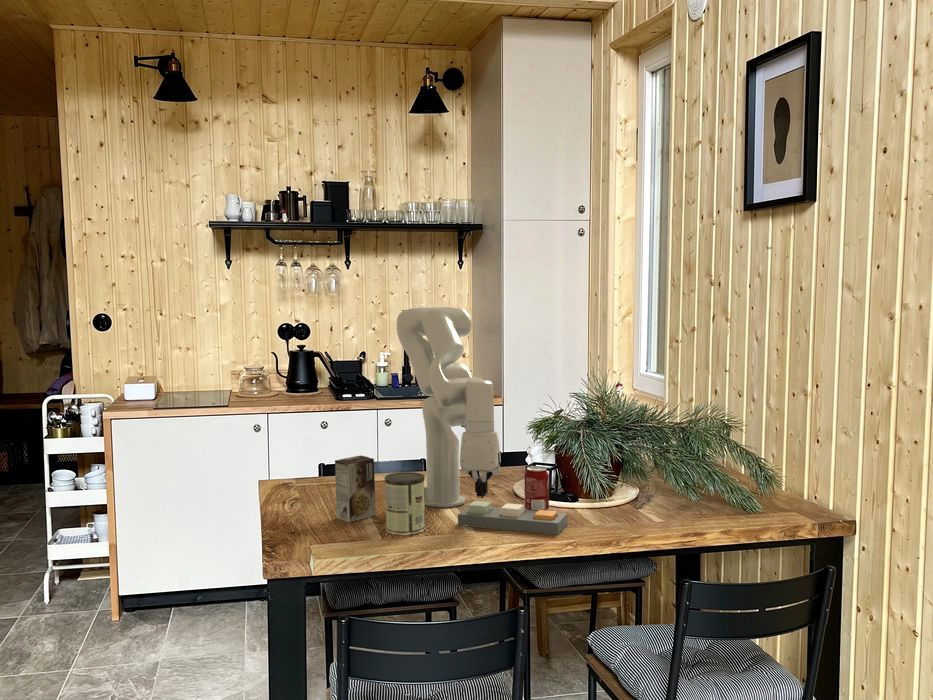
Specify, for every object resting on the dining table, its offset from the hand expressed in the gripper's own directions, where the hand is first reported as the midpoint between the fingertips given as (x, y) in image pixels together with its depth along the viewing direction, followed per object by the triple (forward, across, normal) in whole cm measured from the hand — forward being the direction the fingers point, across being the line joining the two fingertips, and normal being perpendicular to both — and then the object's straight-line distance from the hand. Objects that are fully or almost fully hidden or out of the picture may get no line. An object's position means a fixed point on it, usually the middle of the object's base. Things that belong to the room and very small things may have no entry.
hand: (481, 495), depth 234 cm
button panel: (+8, +8, +1) cm, 11 cm away
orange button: (+6, +17, +1) cm, 18 cm away
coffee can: (+7, -17, -12) cm, 22 cm away
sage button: (+5, -1, +1) cm, 5 cm away
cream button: (+5, +8, +1) cm, 10 cm away
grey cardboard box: (+7, -35, -5) cm, 36 cm away
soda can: (+7, +10, +17) cm, 21 cm away
